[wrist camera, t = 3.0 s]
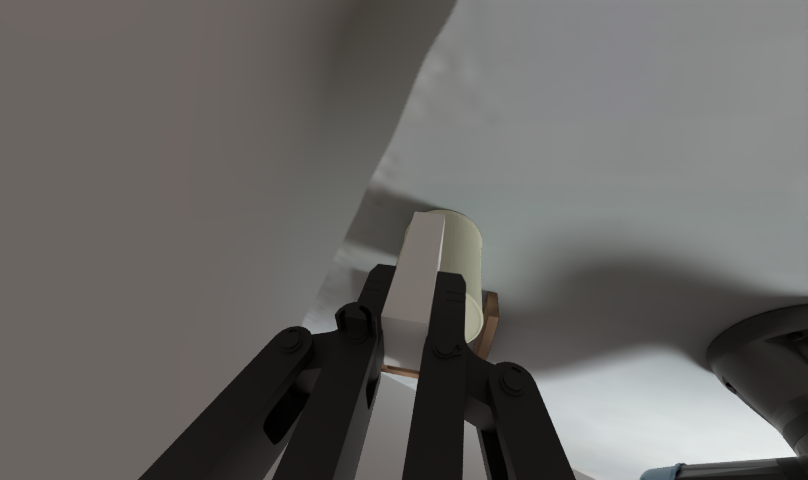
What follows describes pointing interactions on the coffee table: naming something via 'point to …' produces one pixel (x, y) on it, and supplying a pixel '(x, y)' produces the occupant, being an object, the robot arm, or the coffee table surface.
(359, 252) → the coffee table surface
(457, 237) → the can
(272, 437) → the robot arm
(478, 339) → the bay
